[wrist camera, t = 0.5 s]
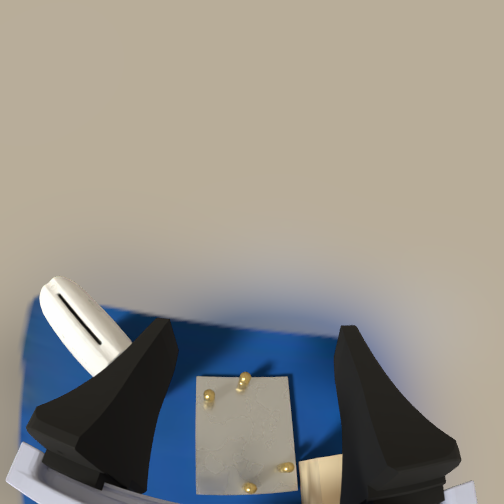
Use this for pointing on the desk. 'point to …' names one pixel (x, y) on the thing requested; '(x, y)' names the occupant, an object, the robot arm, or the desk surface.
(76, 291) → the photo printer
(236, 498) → the desk surface
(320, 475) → the board
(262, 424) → the plate
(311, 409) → the desk surface
